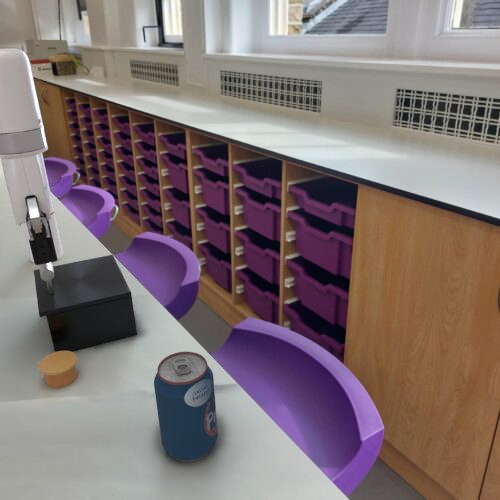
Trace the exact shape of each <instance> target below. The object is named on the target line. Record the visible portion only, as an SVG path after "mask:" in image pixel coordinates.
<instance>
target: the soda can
mask: <svg viewBox="0 0 500 500" xmlns="http://www.w3.org/2000/svg"><path fill="white" fill-rule="evenodd" d="M153 388H154V395H155V403H156V410H157V417H158V418H157V419H158V424H159V433H160V439H161V440H160V441H161V445H162V447H163V449H164V450H165V451H166V453H167V454H169V455H170V456H171V457H173V459H175V460H178V461H181V462H187V463H188V462H195V461H198V460H201V459H203V458H204V457H206V455H208V454H209V453H210V451H211V450H212V449H213V447H214V446H215V444H216V443H217V439H218V433H219V432H218V421H217V406H216V405H217V404H216V394H215V381H214V372H213V370H212V369H211V367H210V366H209V364H208V362H207V359H206V357H204V356H203V355H201V354H200V353H197V352H194V351H179V352H174V353H171V354H169V355H167V356H166V357H164V358H163V359H162V360H161V361H160V362H159V363H158V365H157V370H156V373H155V376H154V379H153Z"/></svg>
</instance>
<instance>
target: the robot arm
mask: <svg viewBox="0 0 500 500" xmlns="http://www.w3.org/2000/svg"><path fill="white" fill-rule="evenodd" d="M34 81H35V80H34V76H33V71H32V66H31V63H30V60H29V57H28V55H27V53H26V52H24V51H23V50H21V49H20V48H14V47H12V48H9V47H8V48H7V47H6V48H0V160H1V166H2V172H3V176H4V180H5V184H6V189H7V193H8V197H9V201H10V205H11V209H12V212H13V218H14V221H15V225H16V226H19V227H21V226H22V224H23V223H25V220H26V224H27V228H28V232H29V237H30V239H29V243H30V247H31V251H32V255H33V259H34V263H33V264H34V265H35V266H39V265H40V264H45V263H50V262H52V263H54V262H55V263H56V262H57V261H58V260H57V255H56V250H55V246H54V242H53V237H52V233H51V229H50V224H49V220H50V218H51V213H50V204H49V196H48V189H47V183H46V178H45V173H44V168H43V164H42V159H41V154H40V153H42V154H43V153H45V152H46V151H48V150H49V146H48V142H47V141H48V140H47V138H46V133H45V128H44V123H43V118H42V114H41V109H40V104H39V99H38V95H37V90H36V84H35V82H34Z"/></svg>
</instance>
